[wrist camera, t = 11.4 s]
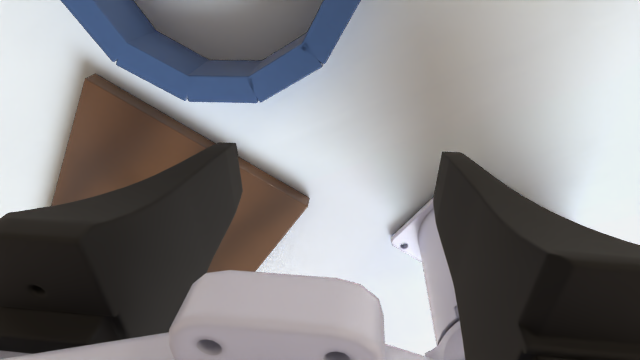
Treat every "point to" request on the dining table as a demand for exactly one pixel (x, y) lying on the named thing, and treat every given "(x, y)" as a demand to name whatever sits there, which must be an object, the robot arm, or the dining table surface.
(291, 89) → the dining table surface
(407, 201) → the dining table surface
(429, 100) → the dining table surface
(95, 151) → the platform
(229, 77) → the blue ring
